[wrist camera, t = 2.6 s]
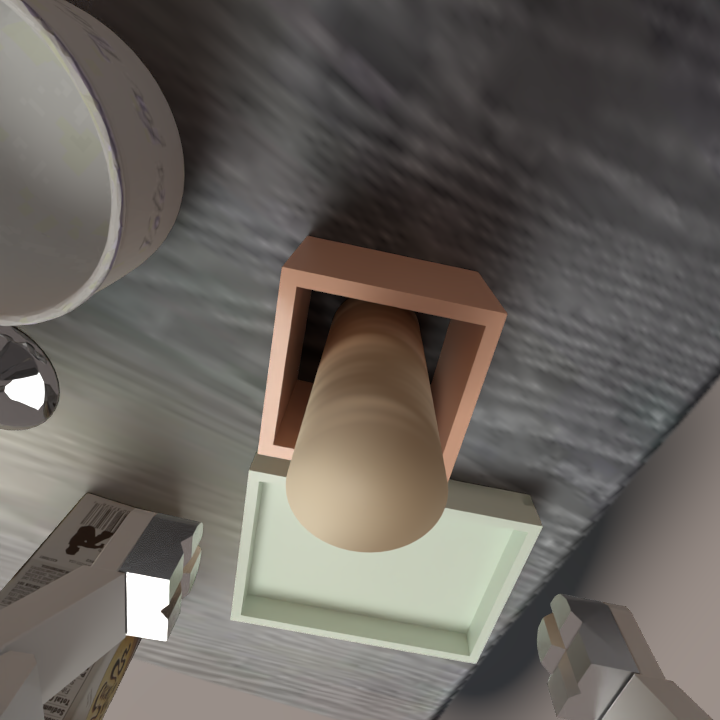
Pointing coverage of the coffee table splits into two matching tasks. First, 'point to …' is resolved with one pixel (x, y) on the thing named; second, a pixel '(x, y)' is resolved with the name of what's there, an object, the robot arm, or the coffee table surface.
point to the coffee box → (54, 560)
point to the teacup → (77, 160)
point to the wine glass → (24, 382)
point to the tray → (384, 571)
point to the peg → (369, 436)
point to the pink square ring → (393, 288)
